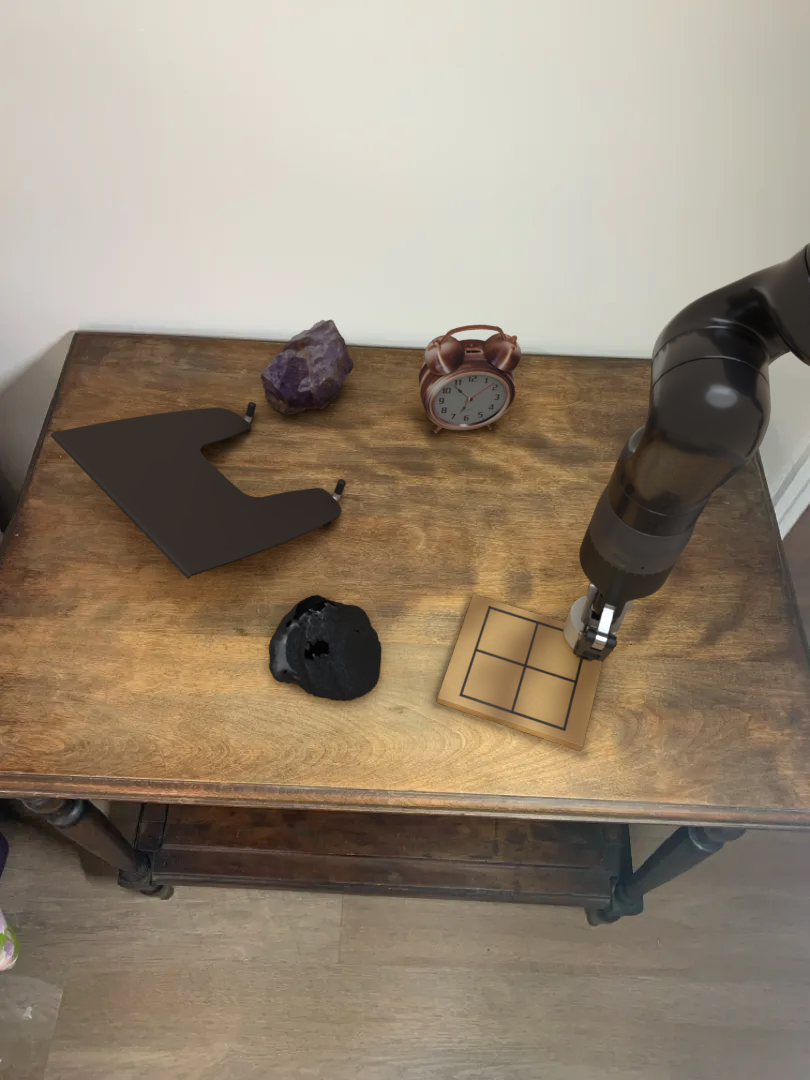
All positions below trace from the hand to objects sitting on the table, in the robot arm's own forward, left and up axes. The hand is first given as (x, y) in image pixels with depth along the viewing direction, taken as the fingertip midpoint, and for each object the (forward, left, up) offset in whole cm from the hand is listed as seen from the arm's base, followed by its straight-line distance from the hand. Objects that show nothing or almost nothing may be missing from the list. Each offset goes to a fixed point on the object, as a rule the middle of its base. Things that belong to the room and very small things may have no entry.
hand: (590, 630), depth 79 cm
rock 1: (+38, -22, -3) cm, 44 cm away
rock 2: (+23, +10, -3) cm, 25 cm away
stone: (0, 0, -1) cm, 1 cm away
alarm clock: (+20, -24, -3) cm, 31 cm away
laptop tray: (+41, -3, -3) cm, 41 cm away
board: (+5, +5, -3) cm, 8 cm away
